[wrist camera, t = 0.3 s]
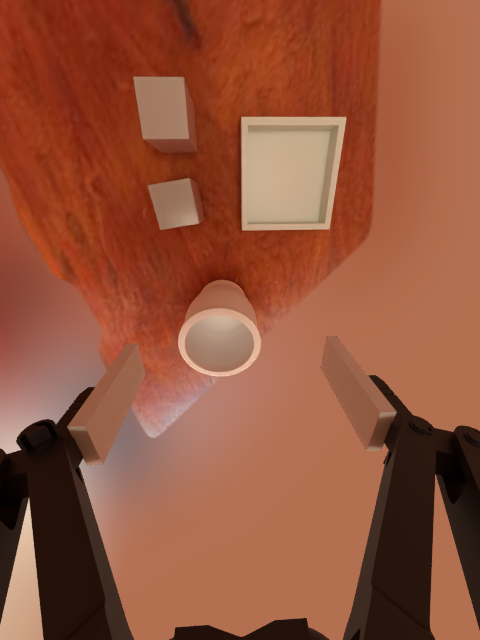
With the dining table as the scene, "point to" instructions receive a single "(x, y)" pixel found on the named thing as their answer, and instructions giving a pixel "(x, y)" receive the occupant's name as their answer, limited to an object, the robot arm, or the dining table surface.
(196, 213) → the grey rectangular block
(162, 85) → the tall grey rectangular prism
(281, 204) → the bin
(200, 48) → the dining table surface
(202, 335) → the jar
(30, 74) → the dining table surface
